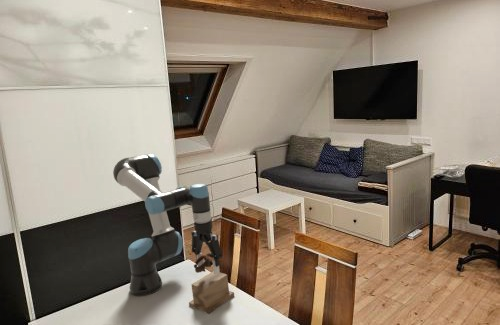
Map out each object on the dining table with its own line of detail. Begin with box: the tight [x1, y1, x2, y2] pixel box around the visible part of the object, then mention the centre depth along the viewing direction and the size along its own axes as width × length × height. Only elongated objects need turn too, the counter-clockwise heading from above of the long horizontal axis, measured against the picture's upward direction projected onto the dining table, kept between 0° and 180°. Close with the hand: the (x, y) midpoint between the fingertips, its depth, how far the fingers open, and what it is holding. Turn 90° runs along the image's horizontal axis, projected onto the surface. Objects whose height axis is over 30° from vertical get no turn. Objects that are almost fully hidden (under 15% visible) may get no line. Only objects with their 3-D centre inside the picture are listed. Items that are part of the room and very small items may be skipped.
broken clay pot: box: [193, 252, 214, 274], centre depth 151 cm, size 12×10×8 cm
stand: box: [188, 270, 235, 315], centre depth 152 cm, size 12×16×10 cm
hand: (208, 270), depth 151 cm, fingers closed on broken clay pot, 9 cm apart
